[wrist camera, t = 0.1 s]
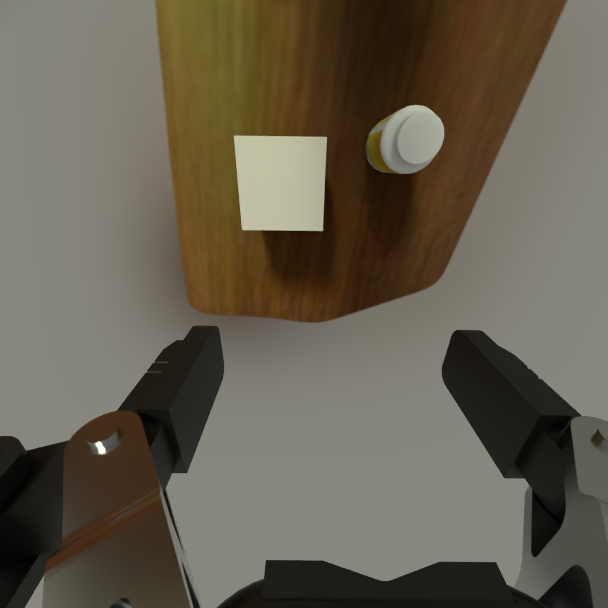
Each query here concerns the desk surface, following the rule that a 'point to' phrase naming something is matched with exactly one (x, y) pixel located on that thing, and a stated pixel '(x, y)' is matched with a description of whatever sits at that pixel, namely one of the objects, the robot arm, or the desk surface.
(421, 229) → the desk surface
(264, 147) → the tower top
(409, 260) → the desk surface
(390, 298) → the desk surface
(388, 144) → the supplement bottle
